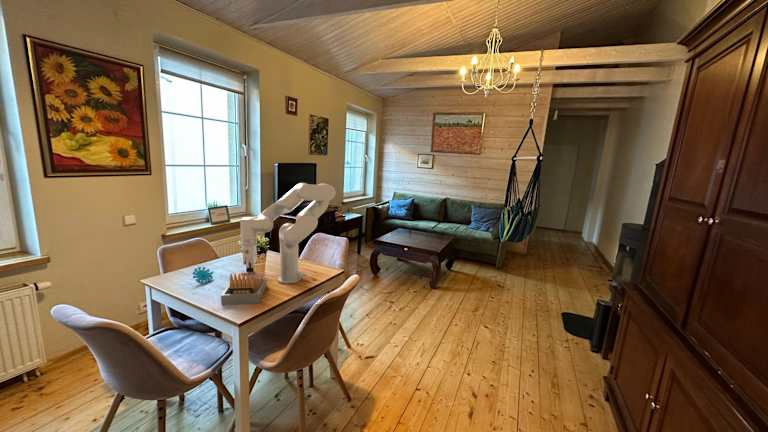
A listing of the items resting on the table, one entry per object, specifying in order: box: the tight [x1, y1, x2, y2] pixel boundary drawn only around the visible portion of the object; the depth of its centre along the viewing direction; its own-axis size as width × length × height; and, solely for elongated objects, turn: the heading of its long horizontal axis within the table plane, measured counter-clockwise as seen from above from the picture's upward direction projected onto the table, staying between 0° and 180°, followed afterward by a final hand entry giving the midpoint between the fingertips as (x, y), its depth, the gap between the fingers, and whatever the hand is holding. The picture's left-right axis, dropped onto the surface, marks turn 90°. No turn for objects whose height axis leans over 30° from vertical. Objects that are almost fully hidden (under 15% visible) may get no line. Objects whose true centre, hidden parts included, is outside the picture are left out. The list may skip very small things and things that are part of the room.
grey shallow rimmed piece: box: [220, 276, 267, 306], centre depth 148 cm, size 20×16×4 cm
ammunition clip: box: [229, 272, 255, 294], centre depth 141 cm, size 11×2×12 cm, turn 101°
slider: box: [232, 271, 264, 290], centre depth 152 cm, size 9×13×7 cm
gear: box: [192, 266, 215, 285], centre depth 161 cm, size 11×6×10 cm
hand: (250, 275), depth 159 cm, fingers closed
